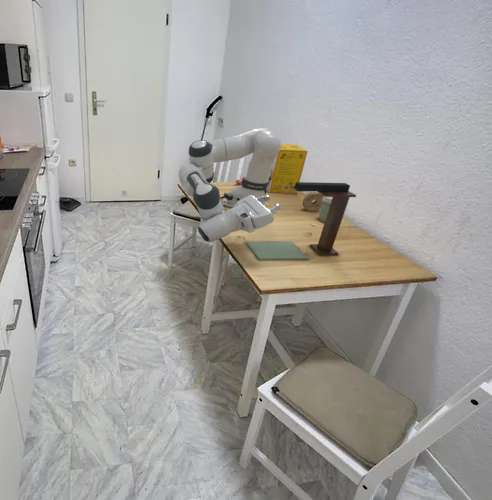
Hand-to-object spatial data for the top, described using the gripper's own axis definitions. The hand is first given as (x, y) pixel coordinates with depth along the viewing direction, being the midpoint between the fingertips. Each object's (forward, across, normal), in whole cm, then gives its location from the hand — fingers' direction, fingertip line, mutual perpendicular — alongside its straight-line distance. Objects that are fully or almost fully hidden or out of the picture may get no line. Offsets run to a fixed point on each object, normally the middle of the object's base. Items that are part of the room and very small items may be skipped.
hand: (274, 201), depth 136 cm
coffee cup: (+31, -31, -40) cm, 59 cm away
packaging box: (+29, -79, -39) cm, 92 cm away
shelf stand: (+11, 0, -30) cm, 32 cm away
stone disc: (+30, -44, -40) cm, 67 cm away
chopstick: (+9, -80, -28) cm, 85 cm away
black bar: (+18, 0, -4) cm, 18 cm away
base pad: (-5, 0, -22) cm, 22 cm away
